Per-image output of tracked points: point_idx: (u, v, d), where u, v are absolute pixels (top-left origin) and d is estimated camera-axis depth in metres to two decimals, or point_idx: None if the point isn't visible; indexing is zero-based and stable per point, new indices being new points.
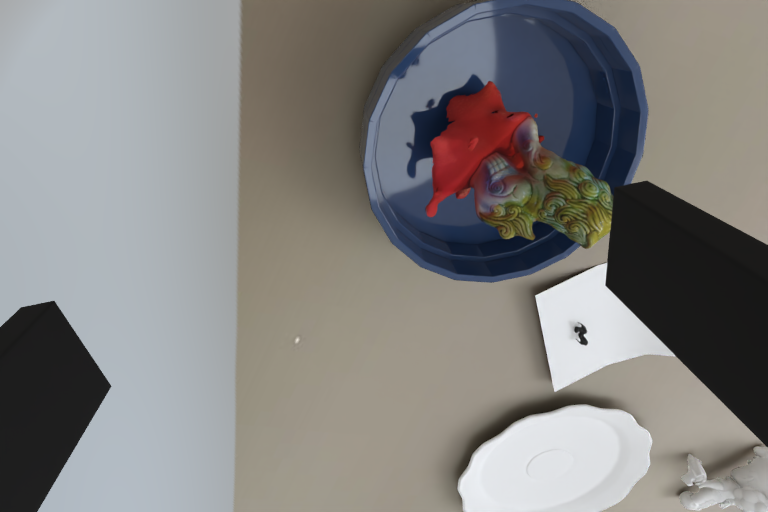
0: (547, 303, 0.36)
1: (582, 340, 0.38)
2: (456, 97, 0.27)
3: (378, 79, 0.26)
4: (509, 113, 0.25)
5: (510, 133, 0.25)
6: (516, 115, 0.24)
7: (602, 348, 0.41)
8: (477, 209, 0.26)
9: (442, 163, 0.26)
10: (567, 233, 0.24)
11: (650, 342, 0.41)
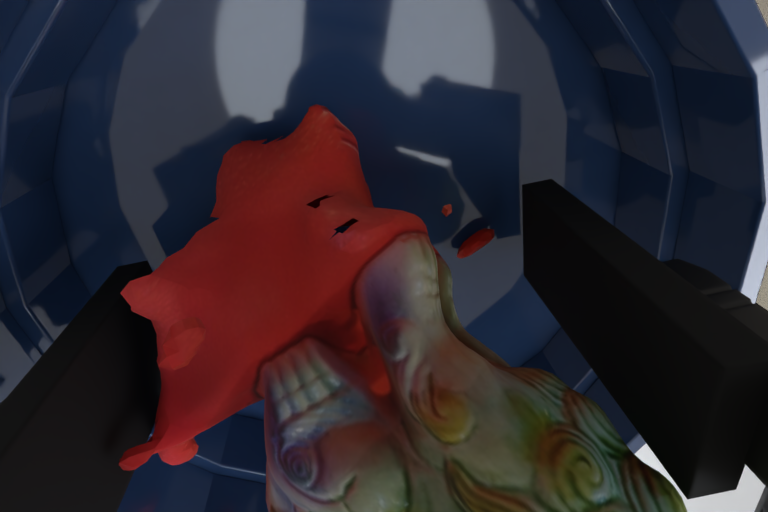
0: None
1: None
2: (239, 147, 0.10)
3: None
4: (348, 214, 0.08)
5: (343, 286, 0.07)
6: (358, 229, 0.07)
7: None
8: (268, 493, 0.09)
9: None
10: None
11: None
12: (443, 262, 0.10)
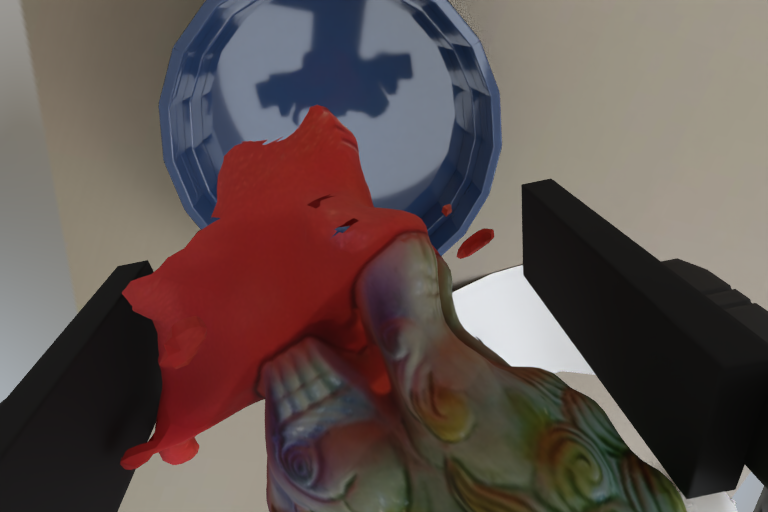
0: None
1: None
2: (239, 147, 0.10)
3: None
4: (349, 214, 0.08)
5: (344, 285, 0.07)
6: (359, 229, 0.07)
7: (509, 364, 0.37)
8: (268, 492, 0.09)
9: None
10: None
11: (563, 359, 0.37)
12: (443, 262, 0.10)
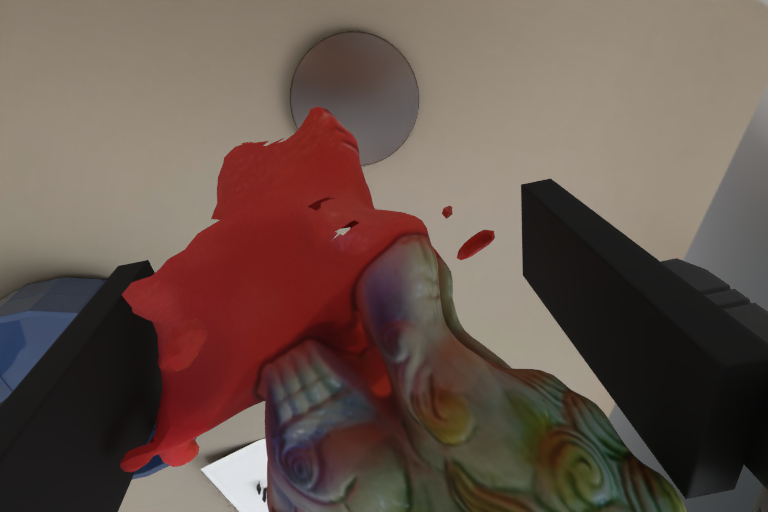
0: (217, 472, 0.42)
1: (263, 497, 0.44)
2: (240, 149, 0.10)
3: None
4: (349, 216, 0.08)
5: (345, 288, 0.07)
6: (359, 231, 0.07)
7: None
8: (268, 494, 0.09)
9: None
10: None
11: None
12: (443, 264, 0.10)
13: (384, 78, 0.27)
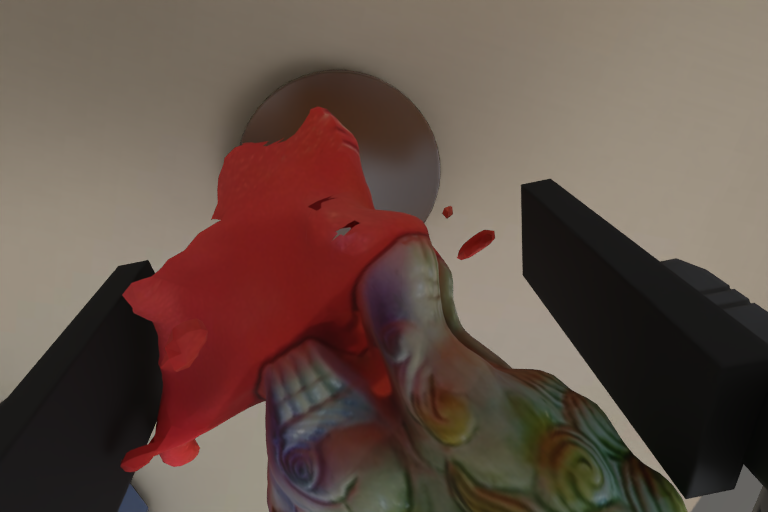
0: None
1: None
2: (240, 149, 0.10)
3: None
4: (349, 216, 0.08)
5: (345, 288, 0.07)
6: (359, 231, 0.07)
7: None
8: (269, 494, 0.09)
9: None
10: None
11: None
12: (444, 264, 0.10)
13: (386, 142, 0.17)
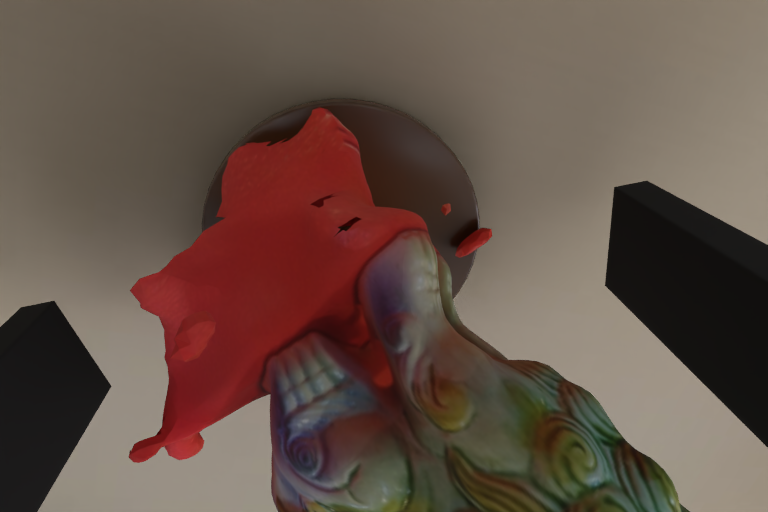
0: None
1: None
2: (243, 149, 0.10)
3: None
4: (351, 213, 0.08)
5: (347, 281, 0.08)
6: (361, 227, 0.07)
7: None
8: (273, 484, 0.09)
9: None
10: None
11: None
12: (442, 260, 0.10)
13: (408, 196, 0.12)
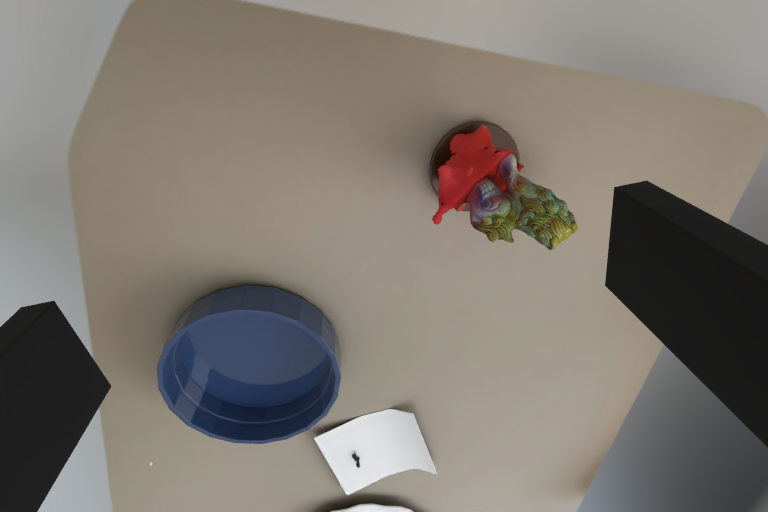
0: (325, 442, 0.53)
1: (357, 463, 0.55)
2: (457, 135, 0.36)
3: None
4: (496, 149, 0.34)
5: (496, 164, 0.34)
6: (501, 151, 0.33)
7: (379, 465, 0.57)
8: (471, 219, 0.35)
9: (446, 184, 0.35)
10: (536, 238, 0.33)
11: (415, 461, 0.57)
12: None
13: None
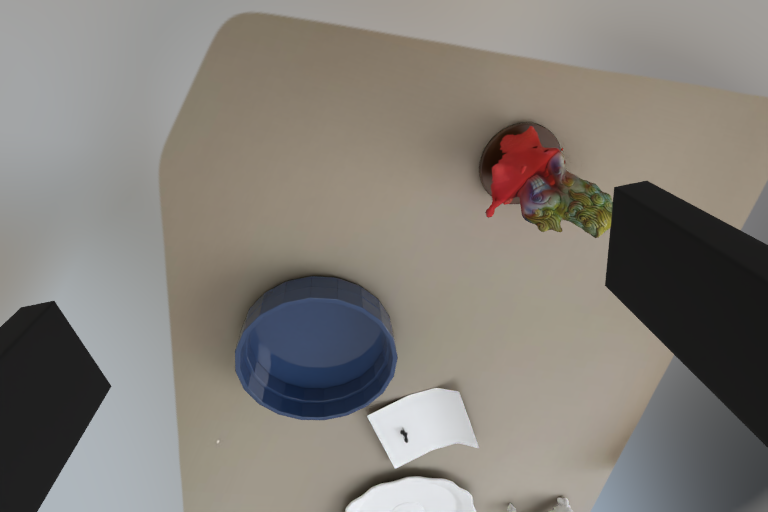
0: (377, 419, 0.57)
1: (405, 439, 0.59)
2: (507, 136, 0.40)
3: (246, 318, 0.47)
4: (545, 148, 0.38)
5: (545, 162, 0.38)
6: (550, 150, 0.37)
7: (425, 440, 0.61)
8: (523, 212, 0.39)
9: (499, 181, 0.39)
10: (583, 228, 0.37)
11: (457, 437, 0.62)
12: None
13: None
